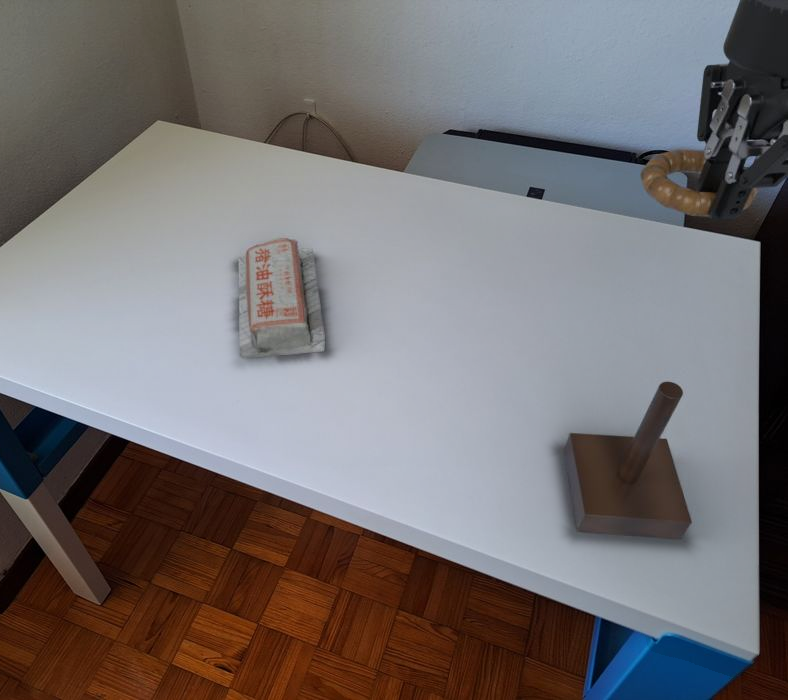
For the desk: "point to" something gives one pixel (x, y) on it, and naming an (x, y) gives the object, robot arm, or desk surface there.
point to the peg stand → (629, 477)
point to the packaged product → (279, 301)
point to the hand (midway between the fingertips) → (713, 208)
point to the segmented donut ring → (674, 194)
